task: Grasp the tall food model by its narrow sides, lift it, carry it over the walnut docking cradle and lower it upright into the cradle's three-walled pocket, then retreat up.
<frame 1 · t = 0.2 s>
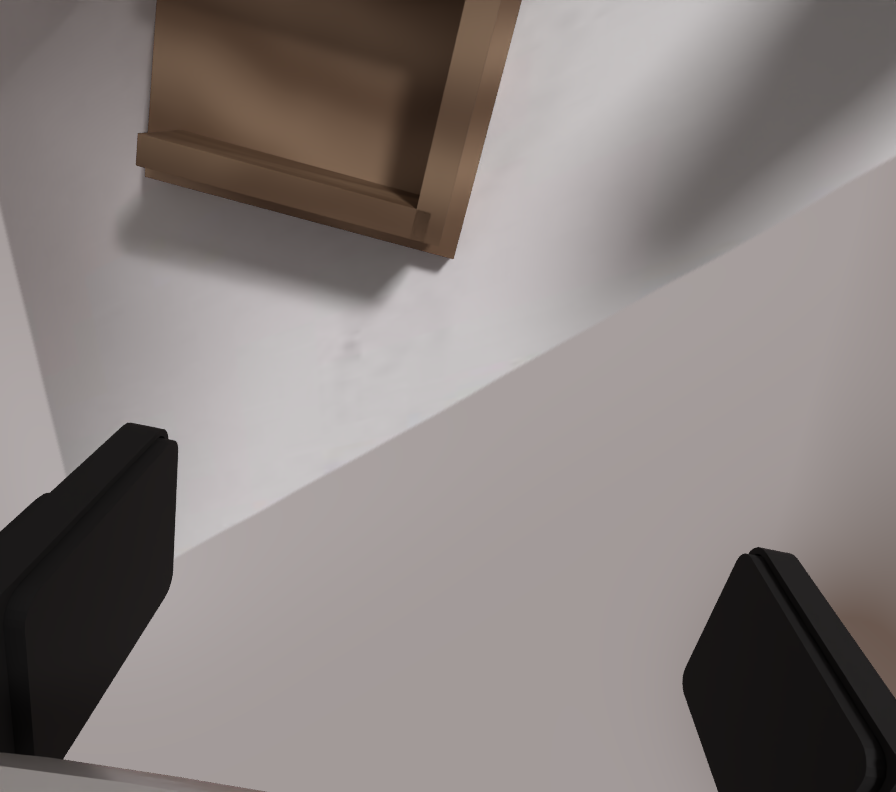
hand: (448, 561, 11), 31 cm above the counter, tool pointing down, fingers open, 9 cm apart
dock: (332, 69, 36), on the counter
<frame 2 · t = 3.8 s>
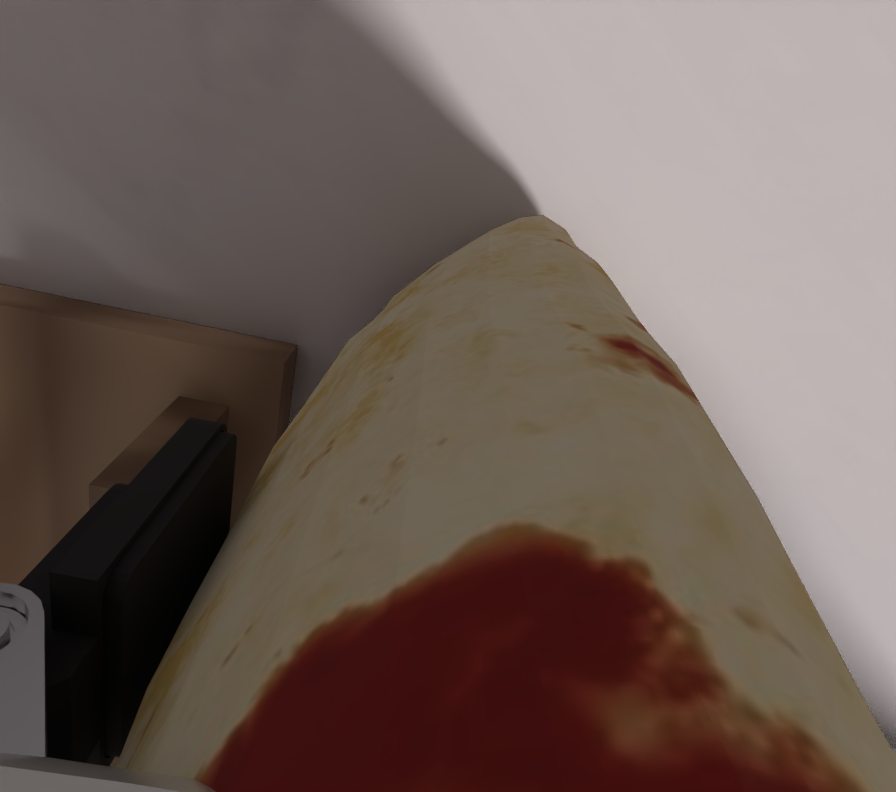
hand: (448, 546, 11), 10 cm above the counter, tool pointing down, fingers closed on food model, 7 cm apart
food model: (462, 346, 21), on the counter, touching gripper
dock: (49, 531, 24), on the counter
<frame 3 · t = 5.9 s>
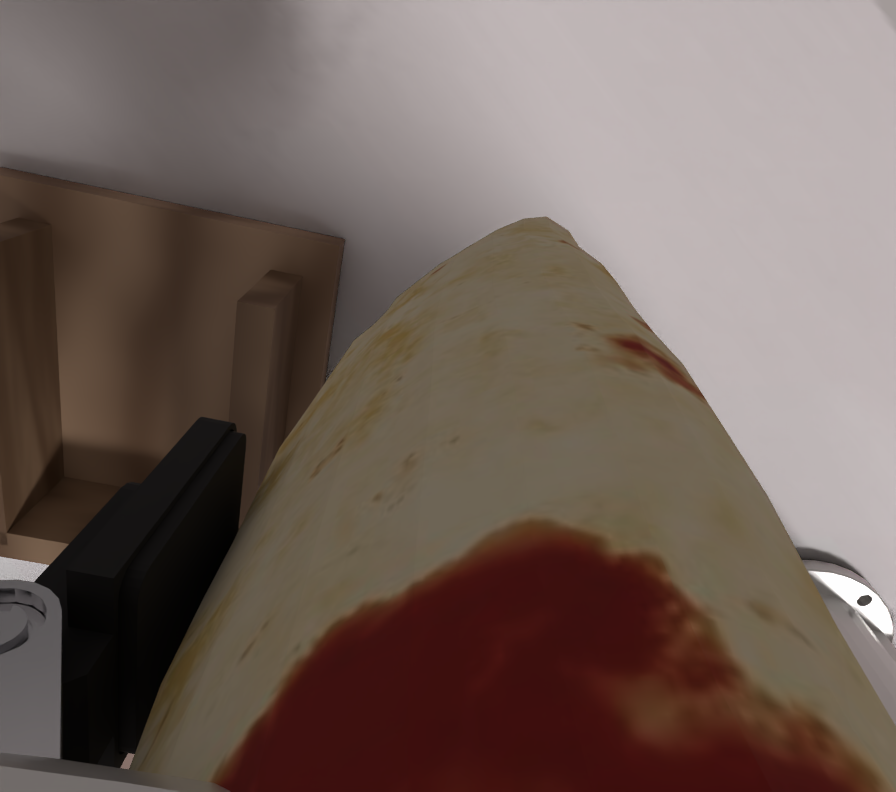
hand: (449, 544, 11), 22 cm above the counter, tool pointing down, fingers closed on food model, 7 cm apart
food model: (464, 346, 21), point 12 cm above the counter, touching gripper
dock: (171, 375, 35), on the counter
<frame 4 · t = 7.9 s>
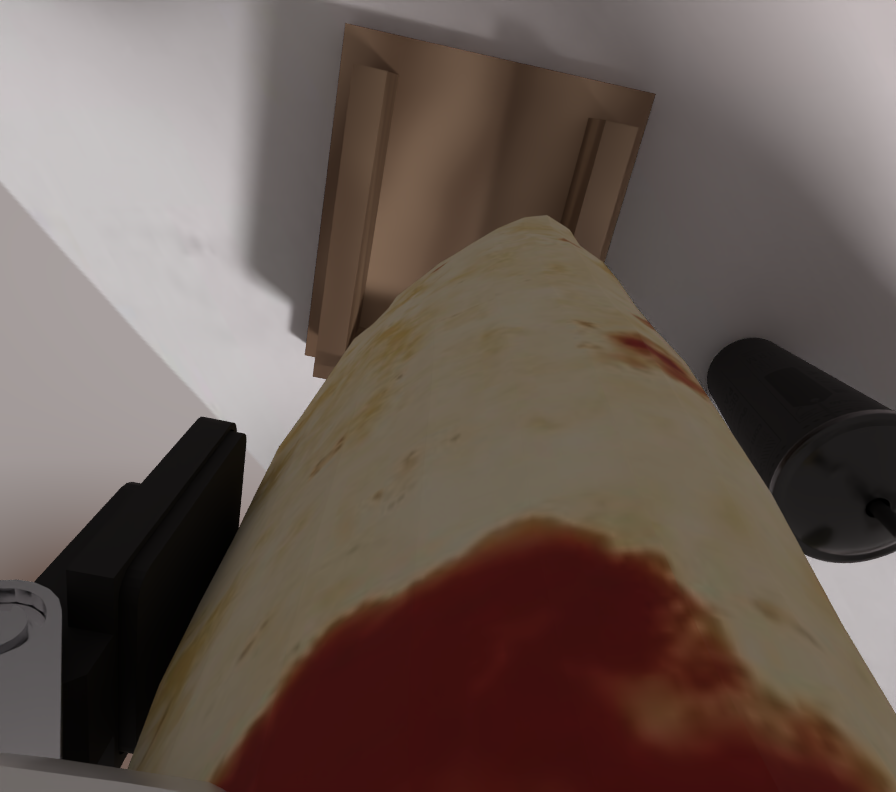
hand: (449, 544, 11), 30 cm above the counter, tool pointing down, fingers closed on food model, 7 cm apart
food model: (465, 345, 21), point 19 cm above the counter, touching gripper
dock: (465, 231, 38), on the counter
drinking cup: (744, 373, 41), on the counter
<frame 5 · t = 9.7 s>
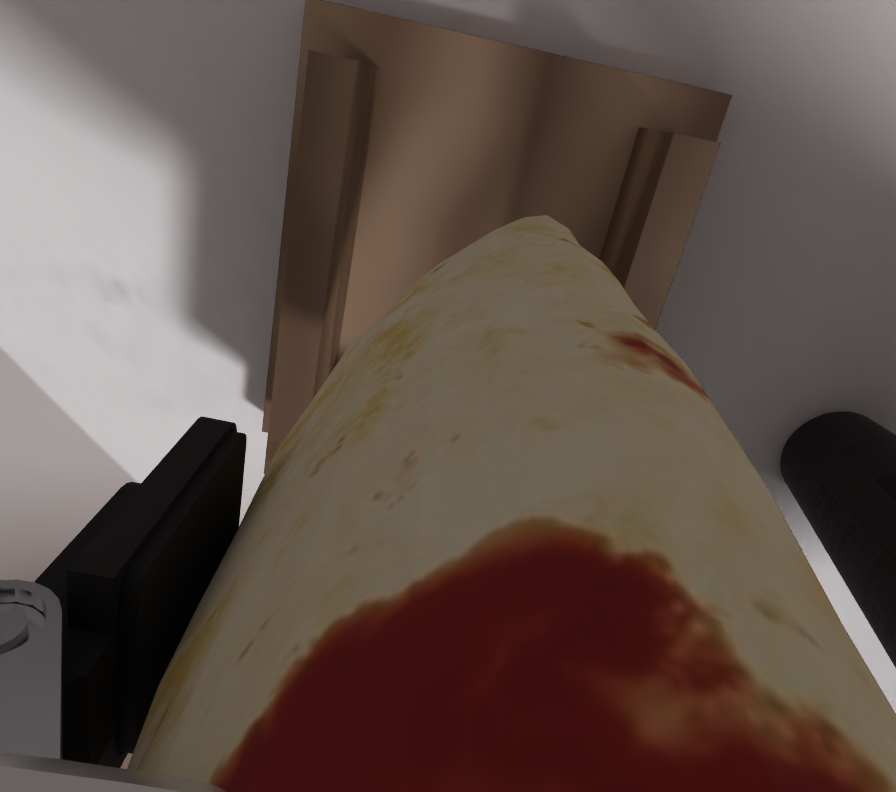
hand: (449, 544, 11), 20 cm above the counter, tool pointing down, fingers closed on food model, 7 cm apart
food model: (465, 346, 21), point 9 cm above the counter, touching gripper
dock: (469, 274, 29), on the counter
drinking cup: (828, 454, 32), on the counter
when the fingers open (13 cm above the counter, at t = 11.5 s): food model drops 2 cm, resting on dock.
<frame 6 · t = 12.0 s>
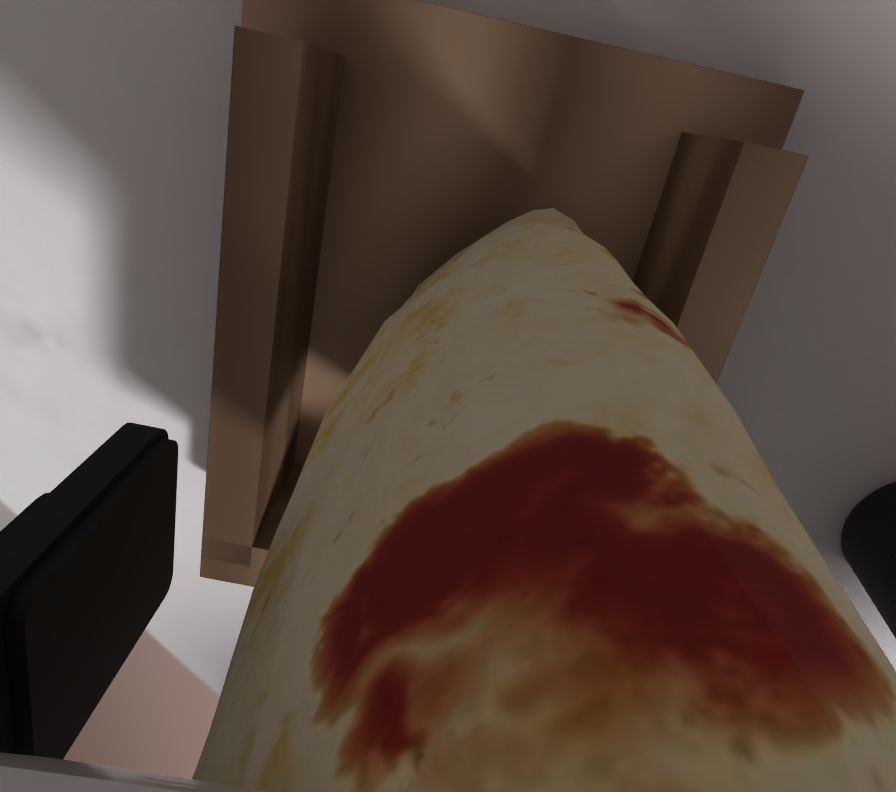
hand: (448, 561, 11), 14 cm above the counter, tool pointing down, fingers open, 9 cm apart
food model: (479, 330, 22), point 1 cm above the counter, touching dock
dock: (463, 314, 23), on the counter
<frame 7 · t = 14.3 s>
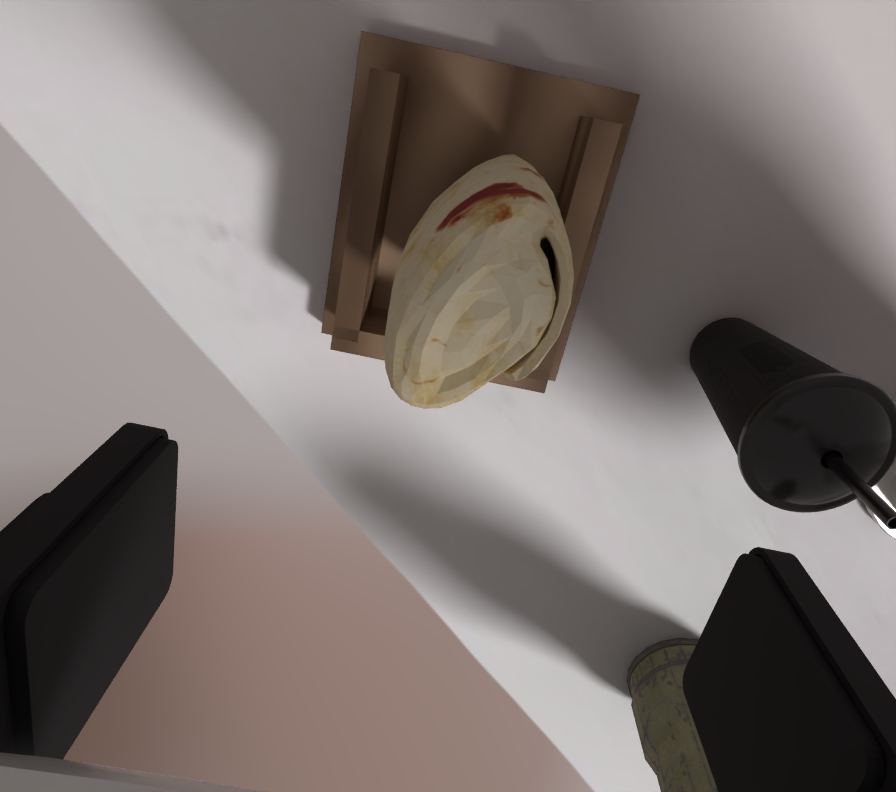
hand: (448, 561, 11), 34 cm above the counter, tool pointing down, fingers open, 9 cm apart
thermos: (677, 675, 57), on the counter
food model: (477, 225, 41), point 1 cm above the counter, touching dock
dock: (468, 219, 42), on the counter
drinking cup: (724, 351, 45), on the counter
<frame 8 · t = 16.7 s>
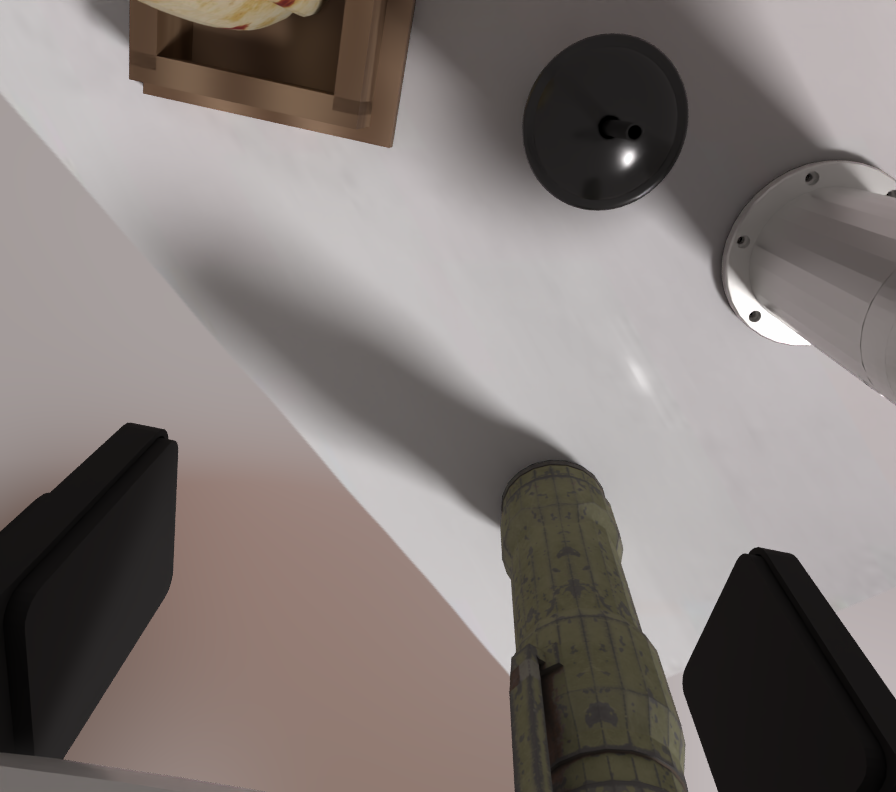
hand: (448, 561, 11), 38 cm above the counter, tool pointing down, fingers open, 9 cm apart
thermos: (553, 504, 56), on the counter
drinking cup: (567, 119, 43), on the counter
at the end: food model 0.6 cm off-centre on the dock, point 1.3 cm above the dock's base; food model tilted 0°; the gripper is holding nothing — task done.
